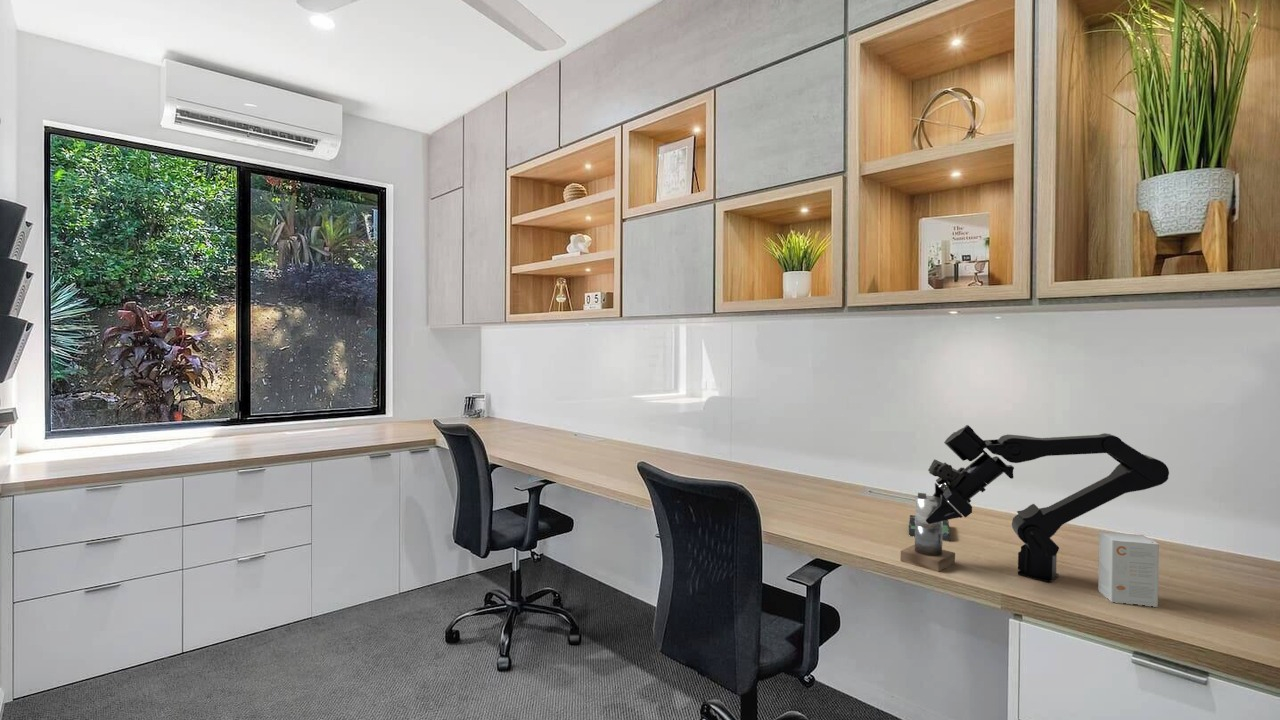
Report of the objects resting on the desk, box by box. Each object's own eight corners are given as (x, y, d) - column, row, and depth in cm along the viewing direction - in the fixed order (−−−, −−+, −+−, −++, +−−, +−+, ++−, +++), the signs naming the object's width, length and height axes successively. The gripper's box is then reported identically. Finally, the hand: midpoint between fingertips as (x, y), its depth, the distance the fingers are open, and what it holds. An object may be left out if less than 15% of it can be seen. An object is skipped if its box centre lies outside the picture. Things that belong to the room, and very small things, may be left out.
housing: (941, 550, 146) (943, 493, 145) (942, 557, 140) (943, 498, 140) (914, 546, 148) (915, 490, 148) (914, 553, 143) (915, 495, 142)
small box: (1142, 595, 126) (1143, 534, 125) (1158, 608, 120) (1160, 543, 119) (1096, 590, 128) (1098, 530, 128) (1110, 602, 122) (1112, 539, 122)
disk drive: (909, 524, 178) (908, 537, 164) (909, 514, 178) (908, 527, 164) (948, 528, 173) (950, 543, 160) (948, 519, 173) (951, 532, 160)
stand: (954, 562, 144) (955, 552, 144) (938, 571, 138) (938, 561, 138) (917, 552, 151) (917, 543, 151) (900, 560, 145) (900, 550, 145)
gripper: (946, 443, 151) (898, 483, 155) (956, 456, 133) (902, 500, 138) (981, 477, 148) (931, 516, 152) (996, 494, 131) (939, 538, 135)
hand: (925, 517), depth 144 cm, fingers open, 9 cm apart
